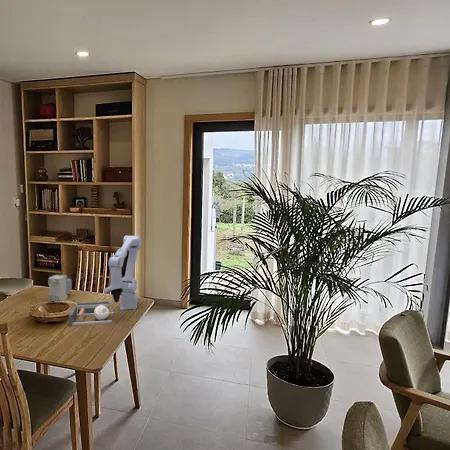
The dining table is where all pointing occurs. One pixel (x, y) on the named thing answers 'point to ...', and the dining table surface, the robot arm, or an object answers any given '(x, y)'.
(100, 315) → the white rounded piece
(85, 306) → the rail mount
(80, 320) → the tan rectangular box
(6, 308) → the dining table surface
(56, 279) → the circuit breaker
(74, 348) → the dining table surface
